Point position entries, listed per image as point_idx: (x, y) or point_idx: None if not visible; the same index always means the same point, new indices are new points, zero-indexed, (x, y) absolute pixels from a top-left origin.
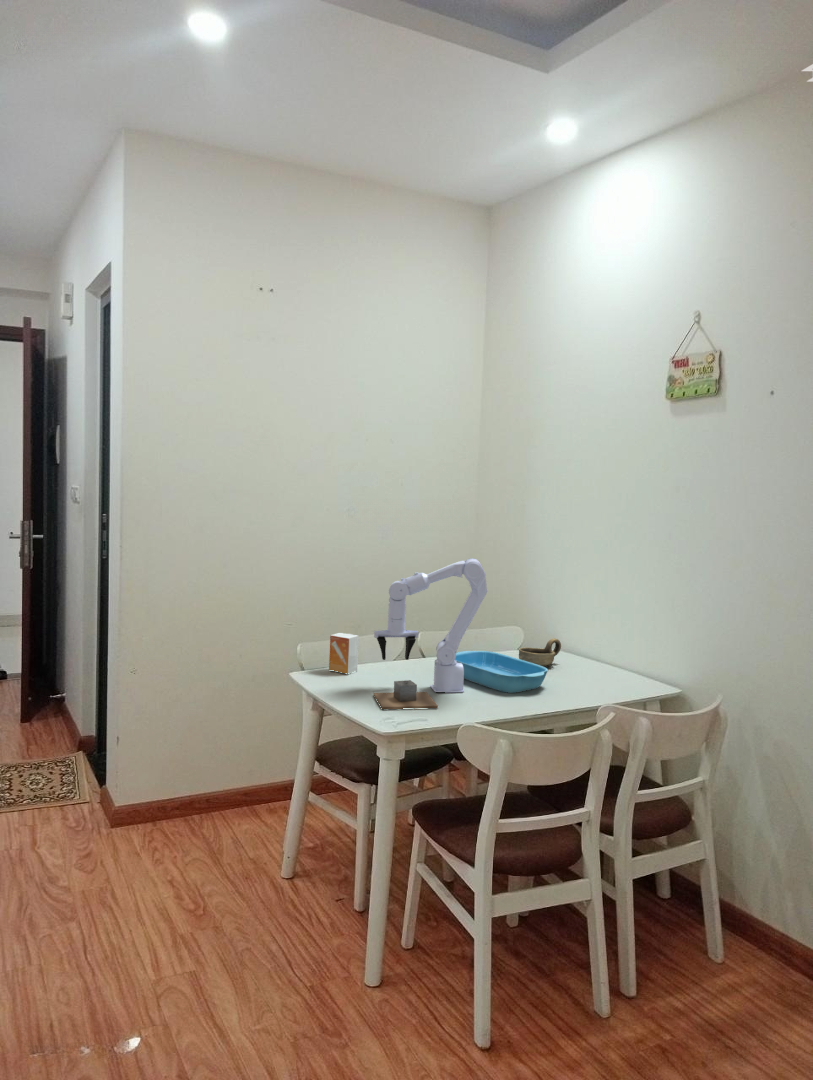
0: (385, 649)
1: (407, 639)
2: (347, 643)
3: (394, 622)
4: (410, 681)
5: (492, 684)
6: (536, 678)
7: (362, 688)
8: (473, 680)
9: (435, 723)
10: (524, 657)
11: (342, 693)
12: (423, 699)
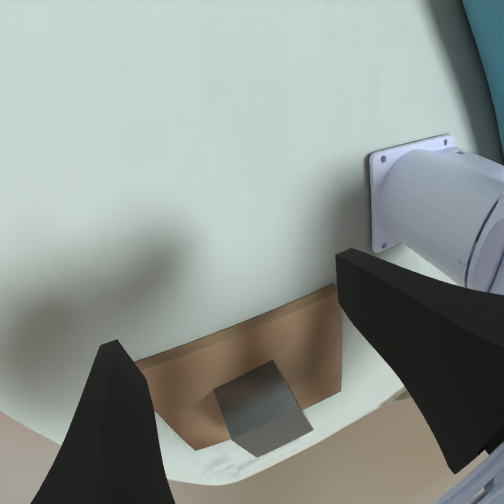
0: (168, 484)
1: (474, 436)
2: None
3: None
4: (297, 417)
5: None
6: None
7: (33, 282)
8: (494, 99)
9: (310, 441)
10: None
11: (6, 365)
12: (314, 369)
